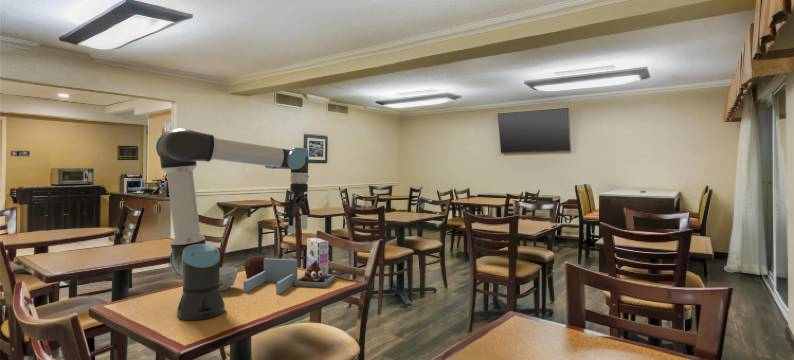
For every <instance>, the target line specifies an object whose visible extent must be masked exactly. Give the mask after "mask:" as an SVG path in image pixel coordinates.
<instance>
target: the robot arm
mask: <svg viewBox="0 0 794 360" xmlns="http://www.w3.org/2000/svg"><path fill="white" fill-rule="evenodd" d="M155 150H156V153H157V155H158V157H159V160H160V161H159V162H160V169H161V170H162V171H163V172H165V173H166V176H167V177H166V178H167V179H166V180H167V187H168V195H169V201H170V209H171V210H170V211H171V217H172V226H173V227H172V228H173V235H174V238H173V239H172V240H171V242H170V249H171V252H170V255H169V256H170V257H169V260H170V265H171V267H172V268H173V270H174V271H175V272H176V273H178V274H180V275H181V276H182V294H181V297H180V300H179V303H178V306H177V309H176V313H177V314H176V317H177V318H178V319H180V320H183V321H201V320H207V319H211V318H215V317H218V316H220V315H222V314H223V313H224V312H225V310H226V307H225V301H224V298H223V295H222V293H221V291H220V289H219V268H220V258H221V256H220V249H219V248H218V246H216V245H214V244H208V243H207V242H206V237H205V236H204V235H203V234H201V231H200V221H199V214H198V213H199V212H198V211H199V210H198V204H197V196H196V195H197V194H196V188H195V187H196V186H195V178H194V170H195V168H196V167H197V162H212V160H216V161H222V162H223V161H224V162H230V163H231V162H232V163H239V164H240V163H242V164H249V165H259V166H264V167H265V168H266V169H272V170H274V169H276V170H290V178H289V179H290V180H289V181H290V182H291V183H290V185H289V188H290V192H291V193H290V194H289V199H288V205H287V210H286V213H285V219H287V218H288V221H287V222H288V227H287V233H288V234H295V233H296V213H297V212H298V211H297V210H298V208H300V212H301V217H300V218H301V219H300V220H301V222H300V225H301V226H300V229H301V230H308V219H309V218H308V216H310V215H311V213H310V212H311V211H310V204H309V200H308V198H309V197H308V191H309V185H308V181H309V159H310V157H309V149H308V148H307V147H291V149H287V148H281V147H273V146H268V145H261V144H255V143H248V142H241V141H235V140H229V139H222V138H216V137H215V135H213V134H209V133H204V132H199V131H195V130H191V129H187V128H177V129H173V130H168V131H166V132H164V133H163V134H161V135H160V136H159V138H157V141H156V144H155ZM292 193H293V194H292Z"/></svg>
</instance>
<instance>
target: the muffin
mask: <svg viewBox="0 0 794 360" xmlns="http://www.w3.org/2000/svg"><path fill="white" fill-rule="evenodd" d="M265 258H266V257H265V256H263V255H257V254H256V255H251V256H249V257H248V258H247V259H246V260H245V262H244V263H243V266H244V270H245V271H244V272H245V275H246V280H247V279H249V278H251V277H253V276H255V275H257V274H259V273H261V272H263V271H264V259H265Z"/></svg>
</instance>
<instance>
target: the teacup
mask: <svg viewBox="0 0 794 360" xmlns="http://www.w3.org/2000/svg"><path fill="white" fill-rule="evenodd" d="M237 276H238V268H236V267H233V266H227V267H225V266H221V267H219V289H220V292H222V291H227V290H230V288H231V287H232V286H234V285H235V281H236V279H237Z"/></svg>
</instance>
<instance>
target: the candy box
mask: <svg viewBox="0 0 794 360" xmlns="http://www.w3.org/2000/svg"><path fill="white" fill-rule="evenodd" d="M329 243H330V241H328V240H325V239H322V238H318V237H313V238H312V237H311V238H306V270H307V269H308V268H309V266H310V265H311V264H312V263H313V262H314V261H317V264H318V266H319V267H320V269H321V271H322V272H323V275H330V274H329V269H330V267H329V265H330V263H329V261H330V260H329V259H330V258H329V256H330V255H329V253H330V244H329Z"/></svg>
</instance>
